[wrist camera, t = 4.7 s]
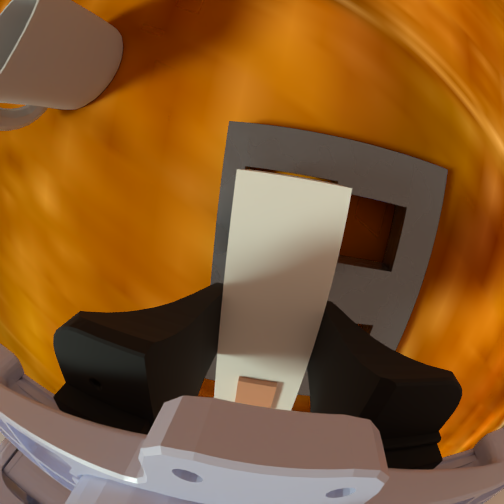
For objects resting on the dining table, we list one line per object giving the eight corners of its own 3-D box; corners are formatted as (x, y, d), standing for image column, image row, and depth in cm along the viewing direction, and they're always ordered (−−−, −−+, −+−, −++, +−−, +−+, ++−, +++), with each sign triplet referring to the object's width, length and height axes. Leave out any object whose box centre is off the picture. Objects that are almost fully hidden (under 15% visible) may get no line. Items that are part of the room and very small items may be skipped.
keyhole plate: (366, 384, 18) (370, 398, 16) (210, 364, 19) (204, 378, 17) (434, 169, 13) (447, 169, 11) (235, 126, 14) (229, 121, 12)
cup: (143, 54, 13) (53, 0, 4) (57, 157, 16) (-38, 167, 7) (103, 14, 12) (32, -26, 3) (31, 105, 14) (-47, 102, 6)
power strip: (288, 363, 16) (285, 429, 11) (231, 353, 16) (211, 416, 11) (328, 181, 13) (354, 188, 7) (255, 169, 13) (235, 169, 8)
